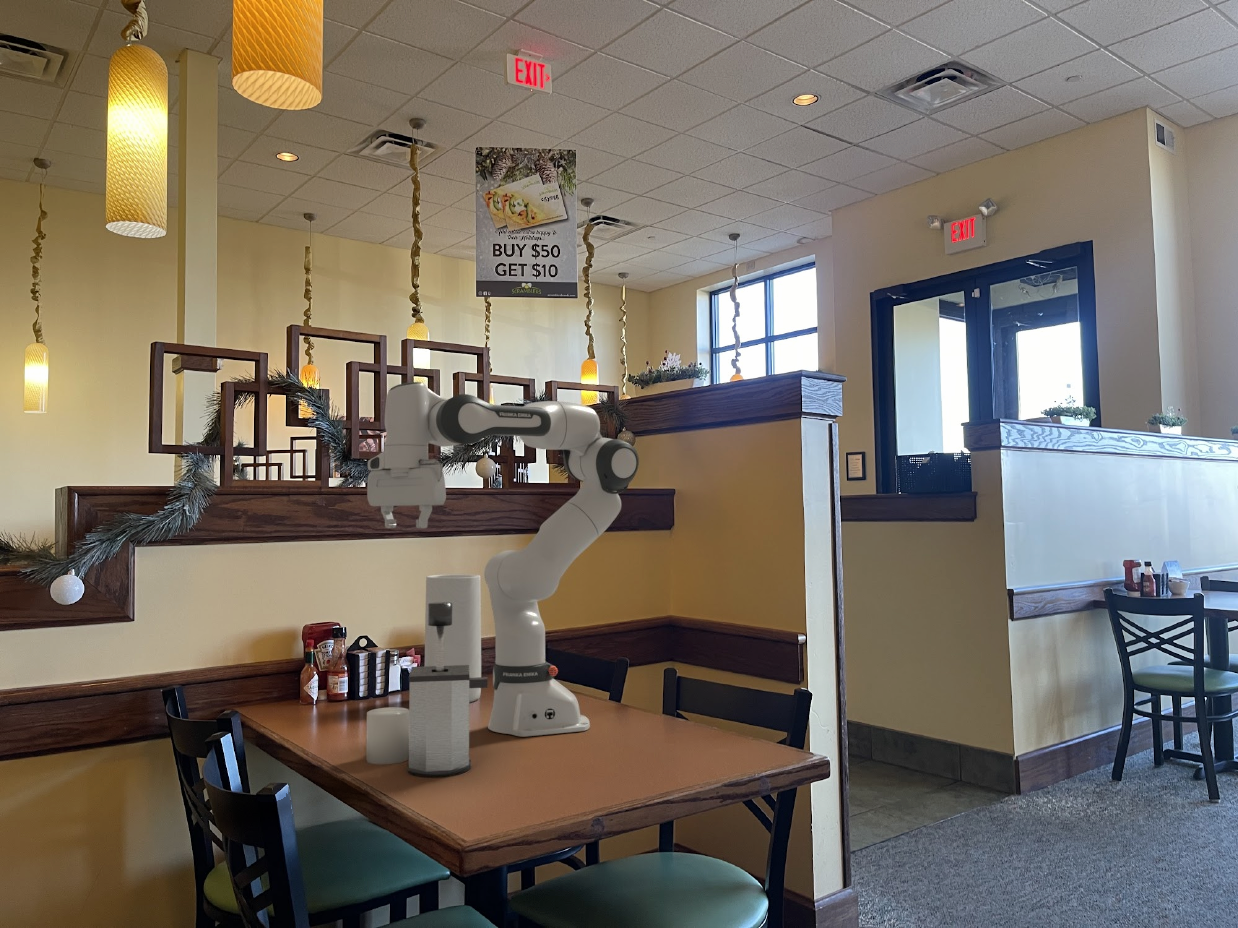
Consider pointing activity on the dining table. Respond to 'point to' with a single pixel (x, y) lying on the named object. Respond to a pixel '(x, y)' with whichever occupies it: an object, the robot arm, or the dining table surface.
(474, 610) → the vase
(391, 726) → the diner mug
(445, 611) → the pump plunger
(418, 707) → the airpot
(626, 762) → the dining table surface
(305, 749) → the dining table surface
